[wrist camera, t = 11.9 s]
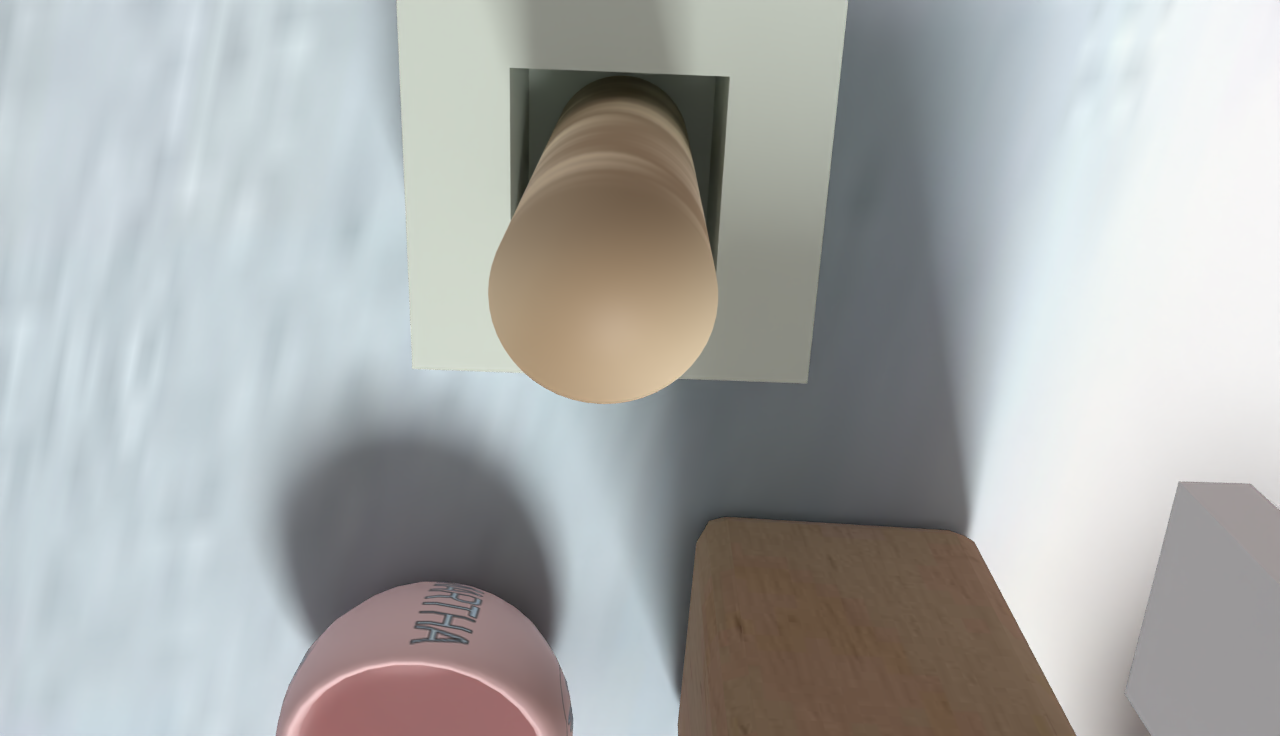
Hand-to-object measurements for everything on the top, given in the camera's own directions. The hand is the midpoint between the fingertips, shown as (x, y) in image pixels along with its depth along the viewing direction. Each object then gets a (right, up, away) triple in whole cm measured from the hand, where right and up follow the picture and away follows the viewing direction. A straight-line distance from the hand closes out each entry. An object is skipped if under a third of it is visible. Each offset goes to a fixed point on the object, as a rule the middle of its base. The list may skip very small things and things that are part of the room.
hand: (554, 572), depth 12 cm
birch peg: (0, +9, +21) cm, 23 cm away
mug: (-6, -10, +30) cm, 33 cm away
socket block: (0, +9, +22) cm, 24 cm away
